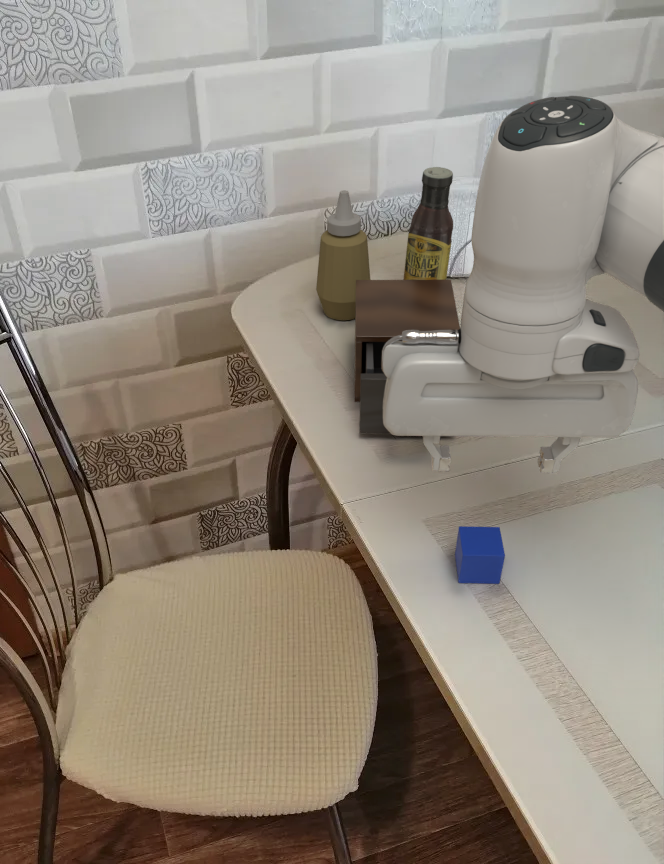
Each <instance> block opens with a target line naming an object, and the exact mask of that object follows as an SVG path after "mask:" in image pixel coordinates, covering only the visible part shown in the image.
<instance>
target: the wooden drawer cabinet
mask: <svg viewBox="0 0 664 864" xmlns="http://www.w3.org/2000/svg"><path fill="white" fill-rule="evenodd" d="M458 315H459V314H458V309H457V304H456V300H455V293H454V288H453V283H452V279H449V278H448V279H447V278H446V280H403V279H370V280H356V299H355V318H354V391H353V392H354V399H353V400H354V403H360V384H361V373H365V342H387V341H388V340H390V339H391V338H393V337H395V336H398V335H402V332H403V331H406V330H419V331H428V332H429V331H433V330H435V331H436V330H459V329H460V327H461V324H460V319H459V316H458ZM399 341H402V340H399Z"/></svg>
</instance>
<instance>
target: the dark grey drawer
mask: <svg viewBox="0 0 664 864" xmlns="http://www.w3.org/2000/svg"><path fill="white" fill-rule="evenodd" d="M385 344H386V342H365V373H361V384H360V402H359V428H358V430H359V431H358V432H359V434H360V435H361V434H362V435H364V434H366V435H368V434H370V435H378V434H379V435H392V434H391V433H390V432H389V431H388V430H387V429H386V428H385V426H384V424H383V397H384V390H385V384H386V379H387V377H386V376H385V374H384V373H383V371H382V367H381V363H382V350H383V347H384V345H385Z"/></svg>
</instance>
